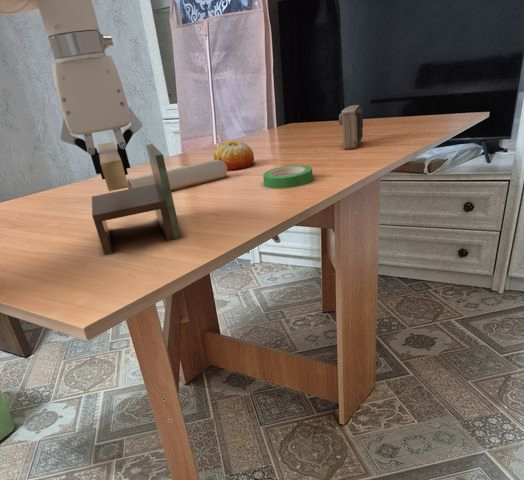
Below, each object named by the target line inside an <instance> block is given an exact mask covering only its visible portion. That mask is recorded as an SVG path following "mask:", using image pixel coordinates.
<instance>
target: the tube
mask: <svg viewBox="0 0 524 480" xmlns="http://www.w3.org/2000/svg"><path fill="white" fill-rule="evenodd" d="M166 171H167V175H168V180H169V184H170V189H171V192H174V191H178V190H182V189H186V188H190V187H194V186H197V185H202V184H207V183H211V182H214V181H219V180H223V179H225V178H226V177H227V176H228V171H227V166H226V164H225V163H224V162H223V161H221V160H214V159H213V160H209V161H205V162H200V163H196V164H195V163H194V164H191V165H185V166H181V167H178V168H172V169H168V170H166ZM126 179H127V183H128V186H129V187H128V188H127V189H133V188H138V187H143V186H148V185H153V184H155V181H154V177H153V173H150V174H145V175H142V176H141V175H140V176H136V177H132V178H130V177H126Z"/></svg>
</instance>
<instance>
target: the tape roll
mask: <svg viewBox="0 0 524 480" xmlns="http://www.w3.org/2000/svg"><path fill="white" fill-rule="evenodd" d="M262 176H263V177H262V178H263V186H264V187H266V188H270V189H288V188H295V187H300V186H303V185H304V186H305V185H307V184H309V183H311V182H312V181H313V180H314V179H313V178H314V177H313V168H312V166H309V165H304V164H296V165H295V164H293V165H285V166H279V167H275V168H271V169H268V170H267V171H264V173H262Z"/></svg>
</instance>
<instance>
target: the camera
mask: <svg viewBox="0 0 524 480" xmlns="http://www.w3.org/2000/svg"><path fill="white" fill-rule="evenodd" d="M363 111H364V110H363V108H361V107H360V105H359V104H353V105H349V106H347V107H344V108H343V109H342V110H341V113H339V115H338V120H339V121H338V122H339V125H340V126H341V132H342V148H343V150H353V149H356V148H357V147H358V146H359V144H360V142H361V141H362V139H363V136H364V133H363V128H364V115H363V114H364V113H363Z"/></svg>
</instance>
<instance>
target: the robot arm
mask: <svg viewBox="0 0 524 480" xmlns="http://www.w3.org/2000/svg"><path fill="white" fill-rule="evenodd" d="M36 10H38V11H39V14H40V17H41V20H42V23H43V27H44V30H45V33H46V36H47V40H48V43H49V45H50V49H51V51H52V55H53V58H54V61H55V63H52V64H51V71H52V76H53V82H54V86H55V90H56V95H57V98H58V102H59V106H60V109H61V113H62V116H63V120H62V125H61V126H62V128H61V132H60V140H61V141H62V142H63V143H67V144H70V145H73V146H76V147H78V148H79V149H81V150H82V151H84V152H86V153H87V154H88V155H89V156H90V159H91V161H92V165H93V168H94V171H95V174H96V175H100V176H101V180H105V177H104V174H103V170H102V167H101V164H100V157H99V151H98V148H97V147H95V142H94V138H93V134H95V133H100V132H105V131H111V130H112V131H113V134H114V136H115V140H116V142H117V144H116V149H117V151H118V153H119V156H120V158H121V161H122V165H123V168H124V172H125V175H126V176H128V175H129V172H128V169H131V164H130V161H129V160H130V159H129V156H128V153H127V149H126V148H127V146H128V144H129V142H130V140H131V139H132V138H133V135H135V134H136V133H137V132H138V131H139V130H141V129H142V127H143V123H142V121H141V120H140V118H138V116H137V115H136V114H135V113H134V112H133V111H132V109H131V107H130V106H129V104H128V100H127V97H126V93H125V90H124V87H123V84H122V80H121V78H120V75H119V72H118V69H117V67H116V64H115V62H114V59H113V57H112V56H111V55H107V54H106V50H107V48H109V47H112V46H114V43H113V39H112V35H111V34H110V35H106V34H103V33H101V30H100V27H99V23H98V19H97V16H96V12H95V8H94V4H93V0H0V16H1V17H12V16H17V15H21V14H26V13H28V12H32V11H36ZM127 126H128V127H127ZM125 127H126V128H125ZM121 128H125V130H124V131H123V132H122V130H121ZM75 135H76V136H75ZM80 135H81V136H84V137H83V138H84V139H83V138H81V137H78V136H80Z"/></svg>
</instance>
